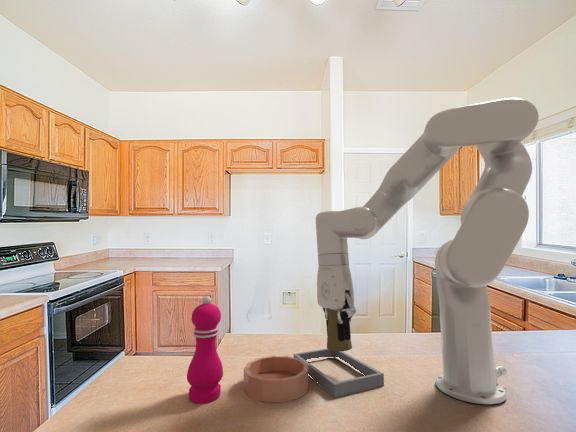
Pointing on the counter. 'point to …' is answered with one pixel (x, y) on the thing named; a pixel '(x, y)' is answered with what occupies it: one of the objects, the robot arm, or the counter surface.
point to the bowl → (276, 378)
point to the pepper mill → (205, 355)
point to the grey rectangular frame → (345, 387)
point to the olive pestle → (335, 333)
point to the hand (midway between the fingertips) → (338, 337)
